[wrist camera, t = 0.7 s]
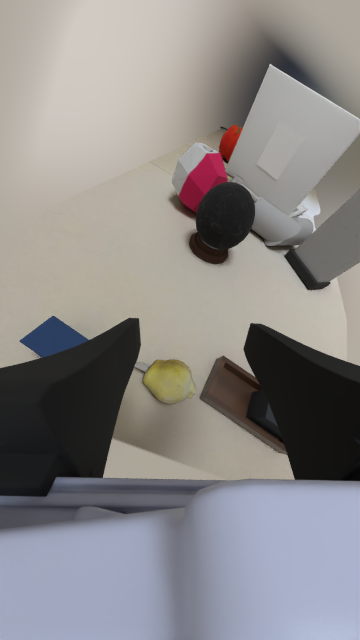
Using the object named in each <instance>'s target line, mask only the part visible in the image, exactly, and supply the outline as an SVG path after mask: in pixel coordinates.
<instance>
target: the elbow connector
mask: <svg viewBox="0 0 360 640" xmlns="http://www.w3.org/2000/svg"><path fill="white" fill-rule="evenodd" d="M251 229H252V230H253V231H255V232H256V233H257V234H259V235H260V236H261V237H263V238H264V239H265V241H264V242H265V244H266V245H268V246H286V245H300V244H302V243H303V242H304V241H305V240H306V239H307V238H308V237H309V236H310V235H311V234H312V232H313V224H312V222H311V221H310V220H309V219H305V218H295V217H292V218H290V217H289V216H288V215H286V214H285V213H283V212H282V211H281V210H279V209H278V208H276V207H275V206H274V205H272V204H271V203H270V202H268V201H267V200H265V199H264V198H263V197H261V198H259V199H258V201H257V202H256V203H255V218H254V223H253V225H252V228H251Z"/></svg>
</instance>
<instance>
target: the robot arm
mask: <svg viewBox="0 0 360 640" xmlns="http://www.w3.org/2000/svg"><path fill="white" fill-rule="evenodd" d="M140 346H141V341H140V327H139V318H128V319H126V320H125V321H123V322H121V323H120V324H118V325H116V326H115V327H113V328H111V329H110V330H108V331H106V332H104V333H102V334H100V335H99V336H97V337H95V338H93V339H91V340H89V341H87V342H84V343H82V344H80V345H77V346H75V347H72V348H70V349H67V350H64V351H61V352H58V353H56V354H53V355H50V356H46V357H43V358H40V359H36V360H32V361H29V362H25V363H21V364H17V365H13V366H8V367H4V368H0V640H360V366H358V365H355V364H352V363H349V362H346V361H343V360H340V359H338V358H335V357H332V356H330V355H327V354H325V353H322V352H319V351H317V350H315V349H312V348H310V347H308V346H306V345H304V344H301V343H299V342H297V341H295V340H293V339H291V338H289V337H287V336H285V335H283V334H281V333H279V332H277V331H275V330H273V329H271V328H269V327H267V326H265V325H262V324H253V323H251V324H250V328H249V331H248V335H247V338H246V342H245V346H244V352H245V355H246V358H247V361H248V363H249V365H250V367H251V369H252V371H253V373H254V375H255V377H256V379H257V380H258V382H259V384H260V386H261V388H262V390H263V392H264V394H265V396H266V398H267V400H268V403H269V405H270V408H271V410H272V413H273V415H274V418H275V420H276V423H277V426H278V428H279V431H280V434H281V437H282V440H283V443H284V446H285V449H286V452H287V455H288V458H289V461H290V465H291V468H292V471H293V475H294V478H295V480H280V479H244V480H233V481H227V480H178V479H128V478H125V479H123V478H103V474H104V469H105V465H106V461H107V456H108V452H109V448H110V443H111V440H112V435H113V431H114V427H115V424H116V420H117V416H118V412H119V409H120V405H121V402H122V398H123V395H124V392H125V389H126V386H127V384H128V381H129V379H130V376H131V374H132V371H133V369H134V366H135V364H136V361H137V358H138V355H139V351H140Z"/></svg>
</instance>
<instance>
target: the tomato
mask: <svg viewBox="0 0 360 640" xmlns="http://www.w3.org/2000/svg"><path fill="white" fill-rule="evenodd" d="M242 129H243V128H240V127H239V129H238V126H237V125H233V126H231V127H230V128H229V129H228V130H227V132H226V133H225V134H224V135H223V137H222V139H221V142H220V146H219V152H220V154H221V157H222V158H223V159H226V160H227V161H228V162H229V160H230V158H231V155H232V153H233V151H234V148H235V146H236V144H237V141H238V139H239V137H240V134H241V132H242Z"/></svg>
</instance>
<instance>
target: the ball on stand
mask: <svg viewBox="0 0 360 640" xmlns="http://www.w3.org/2000/svg"><path fill="white" fill-rule="evenodd" d="M254 218H255V204H254V200H253V198H252V196H251V194H250V192H249V191H248V190H247V189H246V188H245V187H244V186H242V185H240V184H238V183H235V182H225V183H221V184H218V185H216V186H215V187H213V188H212V189H210V190H209V191H208V192H207V193H206V194H205V196H204V197H203V198H202V200H201V202H200V204H199V206H198V209H197V213H196V228H197V231H198V232H197V233H195V234H193V235H192V236H191V238H190V242H189V244H190V248H191V250H192V251H193V253H194V254H195V255H196V256H197V257H199V258H200V259H202V260H204V261H206V262H208V263H213V264H219V263H222V262H224V261H225V260H226V258H227V256H228V249H229V248H232V247H234V246H236V245H238V244H239V243H240V242H241V241H243V240H244V239H245V237H246V236H247V235H248V233H249V231H250V230H251V228H252V225H253V223H254Z"/></svg>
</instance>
